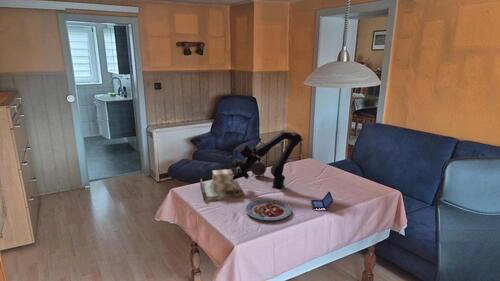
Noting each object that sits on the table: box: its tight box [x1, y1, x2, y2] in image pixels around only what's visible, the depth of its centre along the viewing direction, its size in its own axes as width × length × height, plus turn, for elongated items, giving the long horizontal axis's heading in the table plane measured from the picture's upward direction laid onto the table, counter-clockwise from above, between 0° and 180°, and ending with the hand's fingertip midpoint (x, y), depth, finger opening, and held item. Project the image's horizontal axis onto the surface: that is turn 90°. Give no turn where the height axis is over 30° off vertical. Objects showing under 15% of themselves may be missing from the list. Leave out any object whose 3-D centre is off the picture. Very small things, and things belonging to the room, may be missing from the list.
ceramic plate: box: [244, 198, 292, 221], centre depth 181 cm, size 26×26×3 cm
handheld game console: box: [310, 191, 334, 210], centre depth 188 cm, size 12×11×7 cm
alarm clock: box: [250, 159, 267, 178], centre depth 233 cm, size 11×5×16 cm, turn 84°
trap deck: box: [199, 178, 245, 202], centre depth 206 cm, size 25×22×6 cm
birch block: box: [211, 168, 234, 191], centre depth 205 cm, size 12×8×11 cm, turn 104°
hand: (232, 179), depth 207 cm, fingers closed, pressing on birch block
